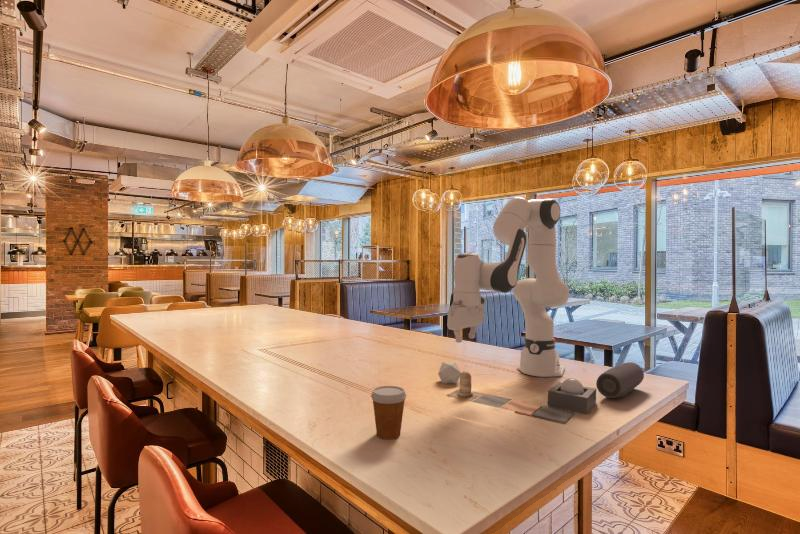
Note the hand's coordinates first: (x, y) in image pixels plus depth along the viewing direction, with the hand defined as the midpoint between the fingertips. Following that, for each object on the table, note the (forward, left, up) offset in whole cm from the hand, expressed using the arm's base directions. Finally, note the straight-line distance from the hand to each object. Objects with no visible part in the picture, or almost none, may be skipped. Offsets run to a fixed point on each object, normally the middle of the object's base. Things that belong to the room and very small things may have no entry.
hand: (465, 340), depth 151 cm
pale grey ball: (-13, +32, -17) cm, 39 cm away
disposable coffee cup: (+42, -1, -20) cm, 46 cm away
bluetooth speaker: (-36, +43, -20) cm, 59 cm away
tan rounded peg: (0, 0, -19) cm, 19 cm away
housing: (-13, +32, -19) cm, 40 cm away
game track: (0, +15, -19) cm, 25 cm away
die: (-10, -12, -20) cm, 25 cm away
